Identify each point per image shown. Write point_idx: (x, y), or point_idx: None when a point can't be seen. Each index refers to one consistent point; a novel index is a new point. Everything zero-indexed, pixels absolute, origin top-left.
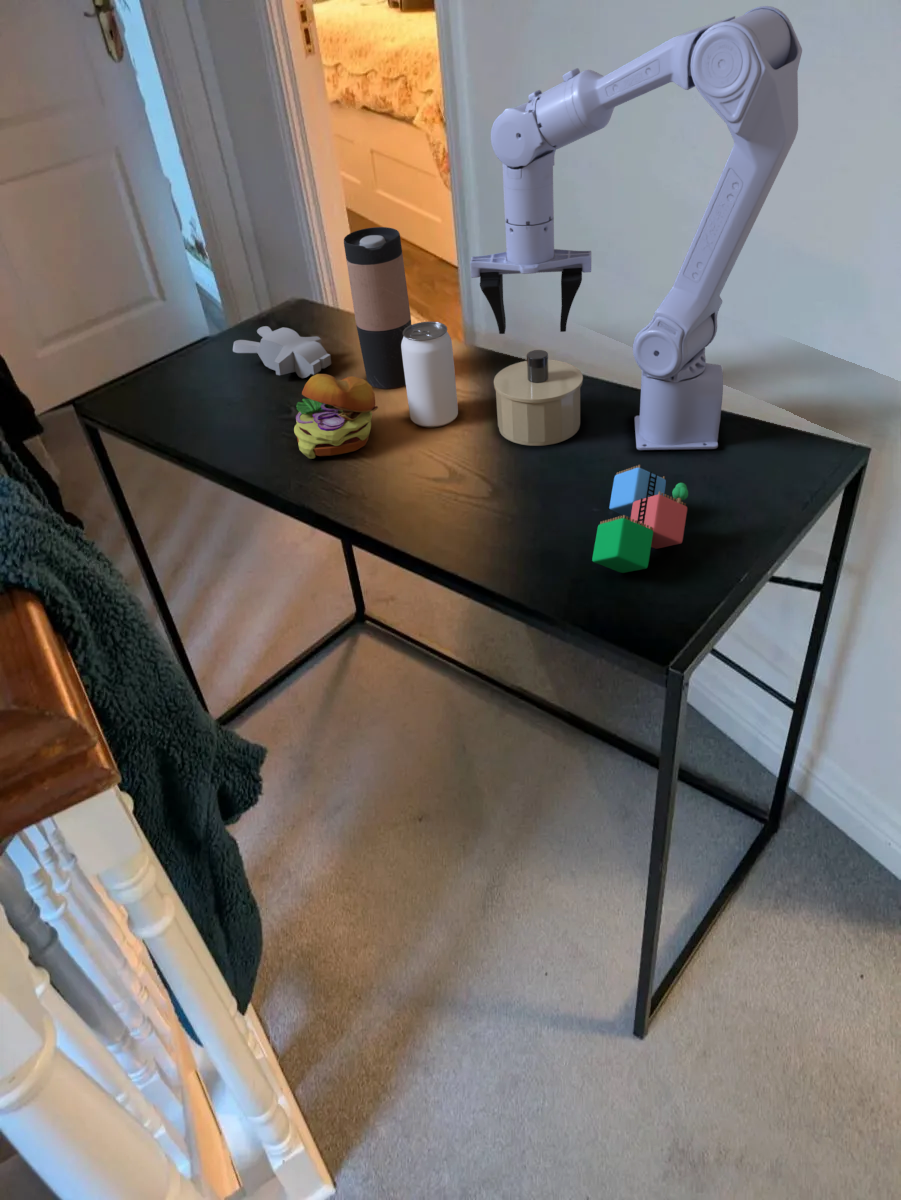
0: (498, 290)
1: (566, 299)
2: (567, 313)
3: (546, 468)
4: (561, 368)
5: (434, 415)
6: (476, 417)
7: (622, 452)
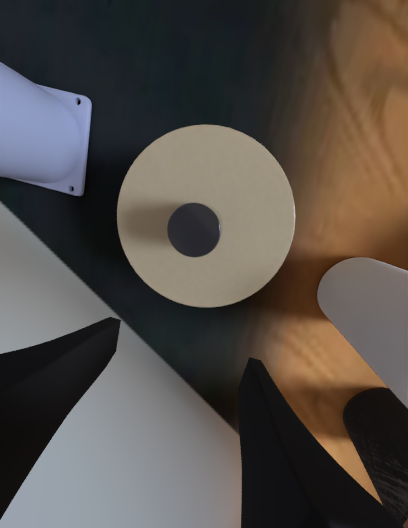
0: (308, 488)
1: (34, 357)
2: (71, 334)
3: (228, 81)
4: (150, 254)
5: (375, 261)
6: (292, 270)
7: (113, 105)
